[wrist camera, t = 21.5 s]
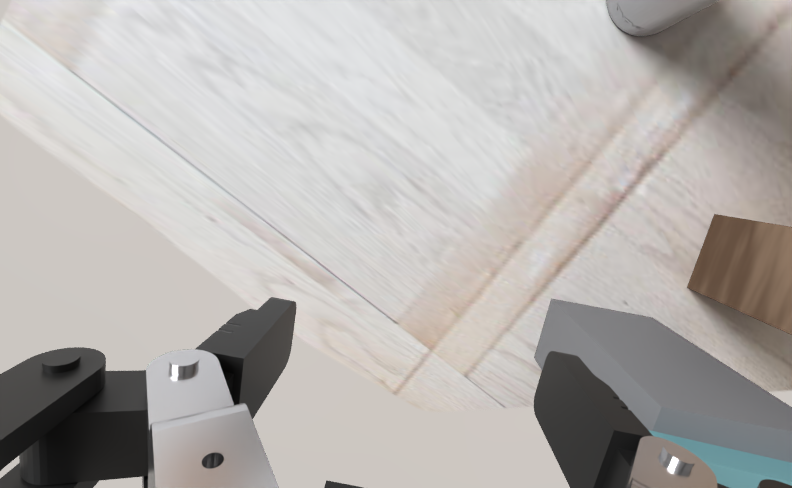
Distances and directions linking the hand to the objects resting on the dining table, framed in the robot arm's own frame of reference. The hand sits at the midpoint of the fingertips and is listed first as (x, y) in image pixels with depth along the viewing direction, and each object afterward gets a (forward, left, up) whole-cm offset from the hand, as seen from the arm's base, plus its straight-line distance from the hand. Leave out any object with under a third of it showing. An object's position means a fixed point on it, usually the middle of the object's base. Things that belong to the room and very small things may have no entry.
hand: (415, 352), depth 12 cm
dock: (-2, +31, -38) cm, 49 cm away
